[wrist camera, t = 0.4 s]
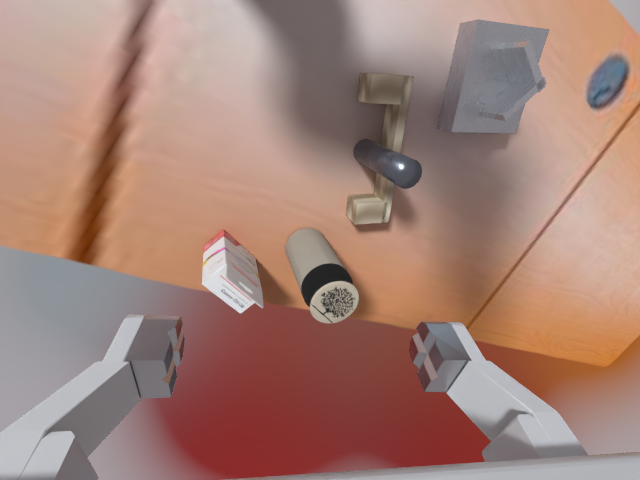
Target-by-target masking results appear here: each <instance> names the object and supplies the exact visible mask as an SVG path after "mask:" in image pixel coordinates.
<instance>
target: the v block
mask: <svg viewBox="0 0 640 480" xmlns="http://www.w3.org/2000/svg"><path fill="white" fill-rule="evenodd" d="M548 32H549V29H542V28H534V27H527V26H520V25H513V24H506V23H499V22H491V21H484V20H474V21H469V22H464V23H460V27H459V31H458V36H457V40H456V45H455V50H454V54H453V59H452V64H451V68H450V73H449V78H448V82H447V87H446V91H445V96H444V101H443V105H442V110H441V115H440V119H439V124H438V128H437V129H441V130H445V131H449V132H468V133H516V130H517V127H518V124H519V121H520V118H521V115H522V112H523V109H524V106H525V103H526V102H527V101H528V100H529V99H530V98H531V97H532V96H533V95H535V94H536V93H537V92H540V91H541V90H542V89H543V88H544V87H545V84H546V81H545V78H544V77H542V75H541V71H540V68H539V65H538V63H539V60H540V57H541V53H542V50H543V47H544V44H545V41H546V38H547V35H548Z"/></svg>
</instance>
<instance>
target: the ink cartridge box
mask: <svg viewBox="0 0 640 480" xmlns="http://www.w3.org/2000/svg"><path fill="white" fill-rule="evenodd" d="M202 285H203V286H205V287H206V288H207V289H209V290H210V291H211V292H213V293H214V294H215V295H216V296H218V297H219V298H220V299H222V300H223V301H224V302H226V303H227V304H228V305H230V306H231V307H232V308H234V309H235V310H236V311H238V312H239V313H242V312H243V311H245V310H246V309H247V308H249V307H250V306H251V305H252V304H254V303H256V304H258V305H259V306H260V307H261V308H263V307H264V305H263V293H262V288H261V283H260V278H259V274H258V269H257V264H256V259H255V257H254V256H253V255H251V254H250V253H249V252H248V251H247V250H246V249H245V248H244V247H243V246H241V245H240V244H239V243H238V242H237V241H236V240H235V239H234V238H232V237H231V236H230V235H229V234H228V233H227V232H226V231H224V230H222V231H221V232H220V233H219V234H217V235H216V236H215V237H214V238H213V239H211V240H210V241H209V242H208V243H207V244H205V245H204V255H203V274H202Z"/></svg>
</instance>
